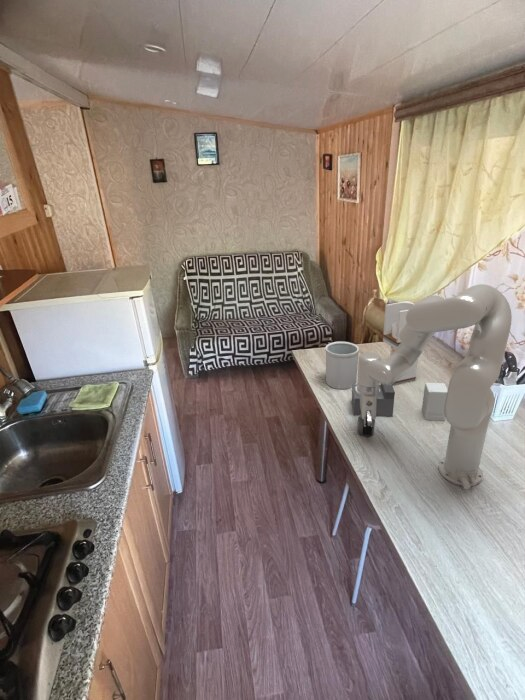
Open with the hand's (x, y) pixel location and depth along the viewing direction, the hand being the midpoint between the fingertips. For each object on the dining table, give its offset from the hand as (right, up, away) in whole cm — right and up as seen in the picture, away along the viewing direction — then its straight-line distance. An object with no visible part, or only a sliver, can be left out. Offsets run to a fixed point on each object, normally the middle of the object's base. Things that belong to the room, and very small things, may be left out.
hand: (365, 426), depth 144 cm
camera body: (+6, +5, +15) cm, 17 cm away
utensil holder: (-2, +13, +36) cm, 39 cm away
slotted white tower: (+24, +15, +36) cm, 46 cm away
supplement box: (+28, +3, +8) cm, 30 cm away
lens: (0, -2, +1) cm, 2 cm away
